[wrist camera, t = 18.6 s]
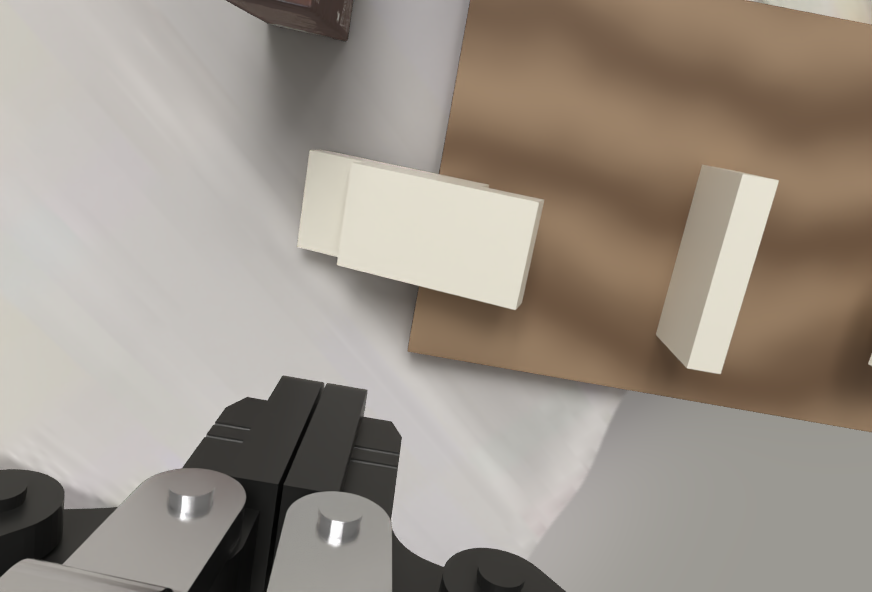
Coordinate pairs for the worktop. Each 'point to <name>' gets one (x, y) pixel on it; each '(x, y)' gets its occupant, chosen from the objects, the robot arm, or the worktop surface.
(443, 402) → the worktop surface
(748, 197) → the domino
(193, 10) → the worktop surface
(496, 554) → the robot arm
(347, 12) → the box
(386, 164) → the domino
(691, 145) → the cutting board
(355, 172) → the domino
